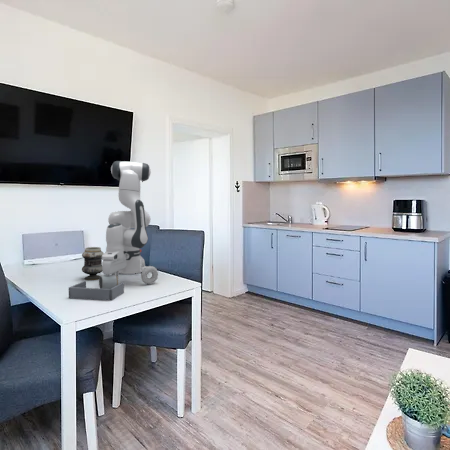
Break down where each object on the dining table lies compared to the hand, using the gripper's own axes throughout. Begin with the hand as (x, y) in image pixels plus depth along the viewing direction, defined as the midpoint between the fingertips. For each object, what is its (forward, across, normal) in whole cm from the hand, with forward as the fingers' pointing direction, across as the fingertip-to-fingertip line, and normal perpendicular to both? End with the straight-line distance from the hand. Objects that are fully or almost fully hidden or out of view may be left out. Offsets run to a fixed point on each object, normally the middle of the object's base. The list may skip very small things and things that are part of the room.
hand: (115, 279), depth 174 cm
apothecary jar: (+3, -13, -20) cm, 24 cm away
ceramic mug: (+4, +7, -1) cm, 8 cm away
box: (+3, +18, 0) cm, 18 cm away
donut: (+3, -6, +17) cm, 18 cm away
